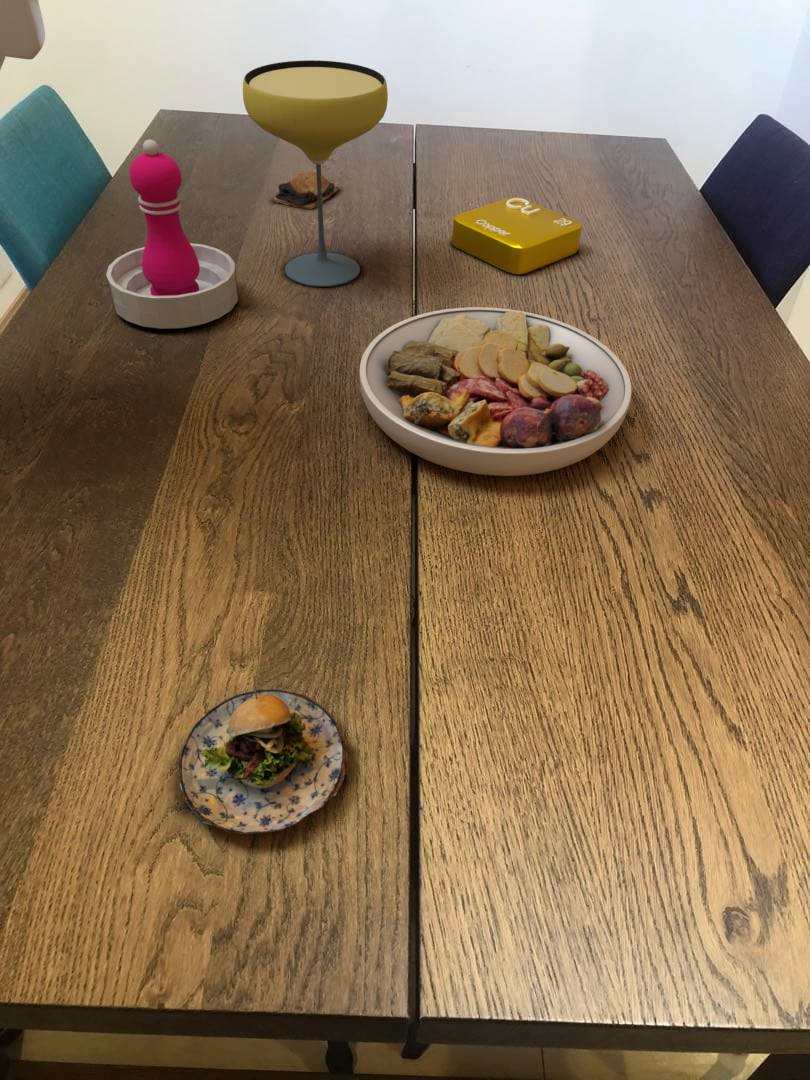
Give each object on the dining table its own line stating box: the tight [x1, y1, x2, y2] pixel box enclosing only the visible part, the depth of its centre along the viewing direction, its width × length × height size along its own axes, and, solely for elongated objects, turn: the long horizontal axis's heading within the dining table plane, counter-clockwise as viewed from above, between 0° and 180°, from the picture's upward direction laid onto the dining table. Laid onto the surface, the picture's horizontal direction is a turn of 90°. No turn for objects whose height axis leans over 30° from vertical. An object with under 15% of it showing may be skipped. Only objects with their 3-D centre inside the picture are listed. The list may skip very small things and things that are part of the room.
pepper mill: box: [129, 138, 200, 296], centre depth 102 cm, size 7×7×20 cm
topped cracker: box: [272, 170, 339, 210], centre depth 138 cm, size 11×8×4 cm
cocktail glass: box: [242, 59, 389, 288], centre depth 110 cm, size 18×18×25 cm
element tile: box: [451, 195, 583, 276], centre depth 125 cm, size 15×15×5 cm
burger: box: [178, 676, 349, 835], centre depth 57 cm, size 12×12×8 cm
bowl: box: [359, 306, 633, 477], centre depth 91 cm, size 30×30×8 cm
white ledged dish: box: [105, 242, 239, 330], centre depth 108 cm, size 16×16×5 cm
